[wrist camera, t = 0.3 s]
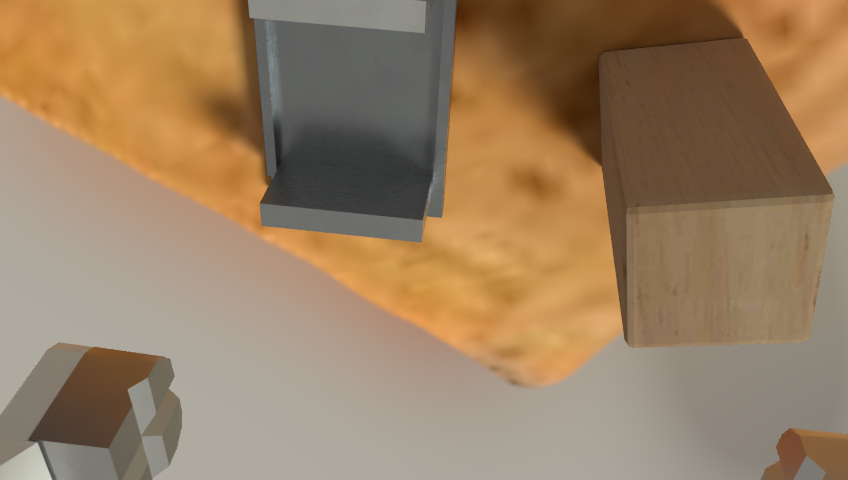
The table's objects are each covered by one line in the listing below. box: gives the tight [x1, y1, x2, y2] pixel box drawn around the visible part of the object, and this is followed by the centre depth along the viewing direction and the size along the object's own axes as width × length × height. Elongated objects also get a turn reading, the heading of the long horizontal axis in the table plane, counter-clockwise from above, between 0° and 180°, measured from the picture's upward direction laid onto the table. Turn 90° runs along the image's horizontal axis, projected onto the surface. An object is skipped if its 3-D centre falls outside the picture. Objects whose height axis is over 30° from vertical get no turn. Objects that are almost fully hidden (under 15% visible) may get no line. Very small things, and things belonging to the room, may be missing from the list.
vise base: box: [254, 0, 458, 242], centre depth 55 cm, size 22×14×8 cm, turn 177°
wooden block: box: [599, 38, 834, 348], centre depth 49 cm, size 10×10×20 cm
